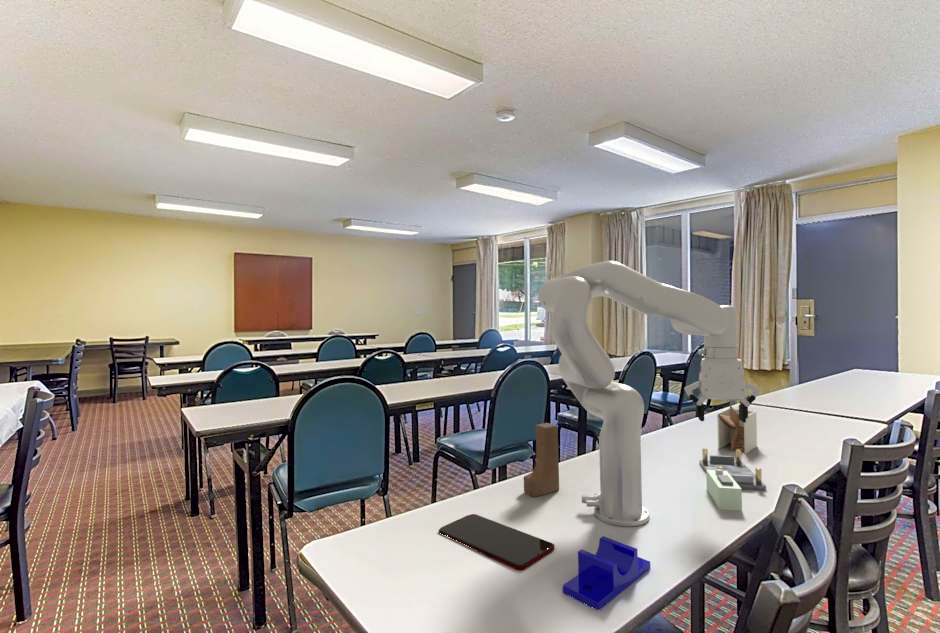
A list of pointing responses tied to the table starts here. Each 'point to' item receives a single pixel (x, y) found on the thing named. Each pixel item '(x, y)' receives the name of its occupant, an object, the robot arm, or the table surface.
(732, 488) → the pale green block
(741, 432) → the staircase
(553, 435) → the wooden block
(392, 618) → the table surface
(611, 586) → the mounting bracket
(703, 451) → the chassis
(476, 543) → the smartphone
